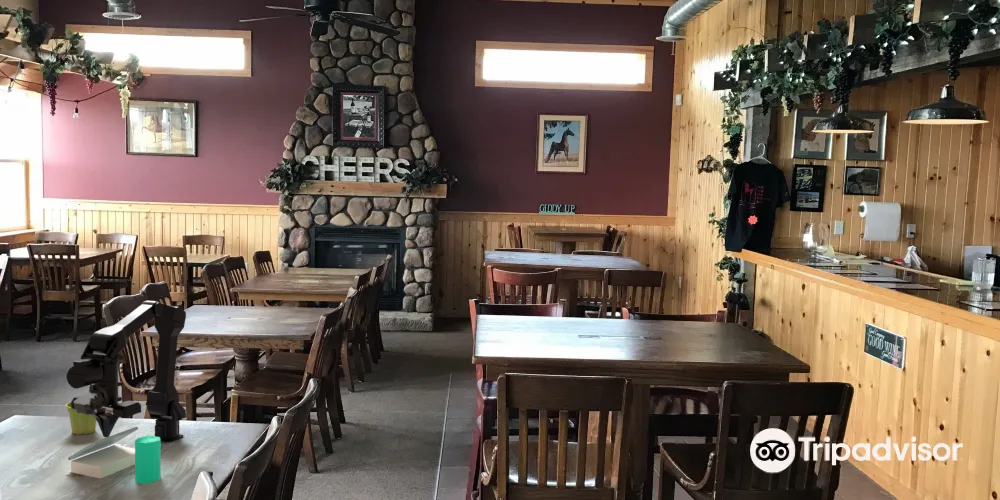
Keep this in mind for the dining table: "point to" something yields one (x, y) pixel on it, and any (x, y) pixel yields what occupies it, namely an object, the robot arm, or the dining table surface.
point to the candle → (147, 459)
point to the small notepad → (104, 461)
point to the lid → (103, 443)
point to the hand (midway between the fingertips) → (106, 436)
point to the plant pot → (81, 421)
